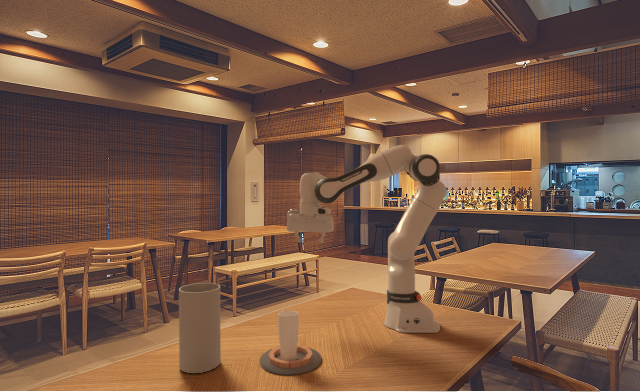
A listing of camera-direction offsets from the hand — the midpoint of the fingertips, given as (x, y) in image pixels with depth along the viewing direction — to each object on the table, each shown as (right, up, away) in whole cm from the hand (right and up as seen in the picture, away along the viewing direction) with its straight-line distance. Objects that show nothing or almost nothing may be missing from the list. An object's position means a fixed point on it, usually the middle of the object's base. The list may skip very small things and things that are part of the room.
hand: (310, 242), depth 158 cm
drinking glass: (-6, -34, -38) cm, 51 cm away
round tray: (-5, -34, -37) cm, 50 cm away
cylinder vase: (-34, -35, -40) cm, 63 cm away
